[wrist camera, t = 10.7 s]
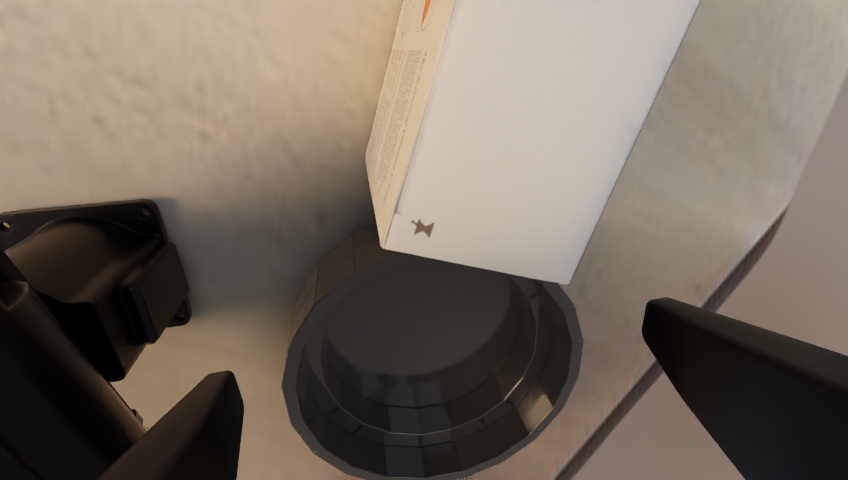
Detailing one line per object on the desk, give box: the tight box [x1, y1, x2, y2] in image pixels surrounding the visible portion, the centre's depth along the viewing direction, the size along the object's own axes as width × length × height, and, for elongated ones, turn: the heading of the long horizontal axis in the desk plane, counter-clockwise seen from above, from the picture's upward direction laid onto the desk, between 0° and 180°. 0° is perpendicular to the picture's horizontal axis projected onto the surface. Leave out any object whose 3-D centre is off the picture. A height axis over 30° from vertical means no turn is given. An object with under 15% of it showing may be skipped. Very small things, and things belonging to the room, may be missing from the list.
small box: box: [365, 0, 701, 285], centre depth 15 cm, size 8×6×10 cm
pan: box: [282, 223, 583, 480], centre depth 22 cm, size 14×14×4 cm
